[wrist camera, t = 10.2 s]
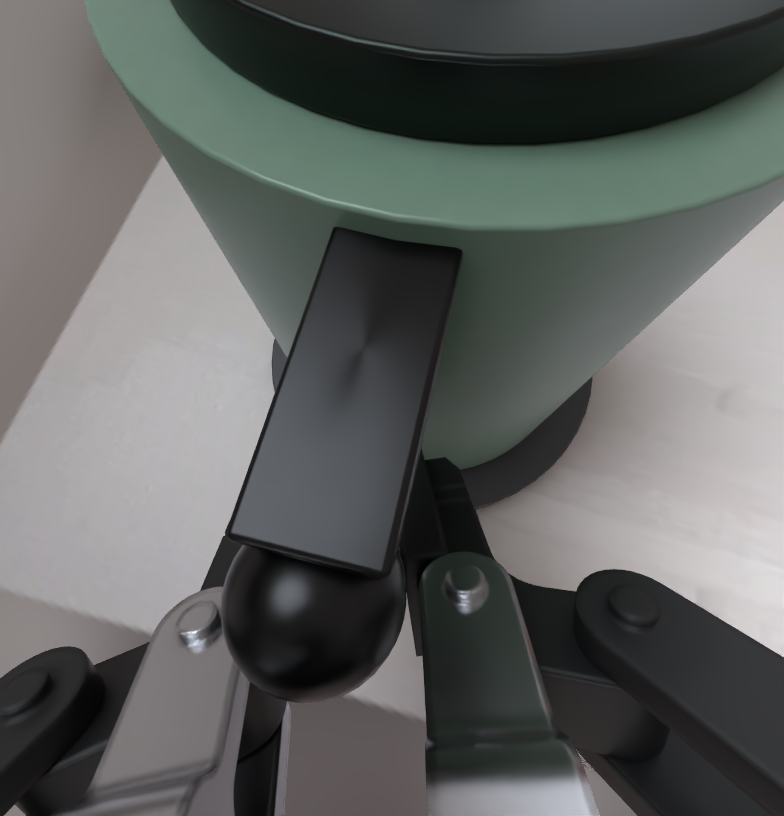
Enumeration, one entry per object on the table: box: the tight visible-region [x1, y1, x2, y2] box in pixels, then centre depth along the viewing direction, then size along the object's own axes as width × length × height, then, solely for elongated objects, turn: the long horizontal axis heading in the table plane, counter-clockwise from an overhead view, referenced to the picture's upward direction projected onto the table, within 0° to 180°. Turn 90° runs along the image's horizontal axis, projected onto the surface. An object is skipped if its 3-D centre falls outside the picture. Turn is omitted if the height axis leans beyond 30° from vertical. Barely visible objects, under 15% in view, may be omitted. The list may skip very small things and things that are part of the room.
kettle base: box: [272, 339, 592, 509], centre depth 19 cm, size 14×14×1 cm
